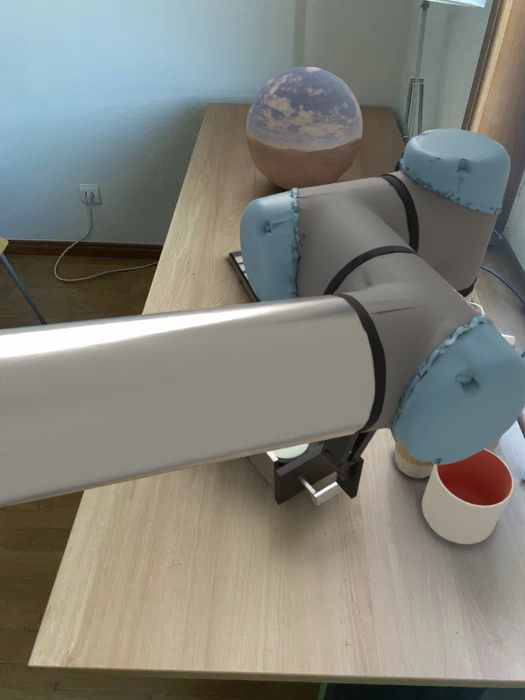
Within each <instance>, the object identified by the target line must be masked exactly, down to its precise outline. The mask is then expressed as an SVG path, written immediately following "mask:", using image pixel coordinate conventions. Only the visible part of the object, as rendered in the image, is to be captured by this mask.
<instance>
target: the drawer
mask: <svg viewBox="0 0 525 700" xmlns="http://www.w3.org/2000/svg"><path fill="white" fill-rule="evenodd" d="M324 443H325V440H322V441H317V442H312V443H309V449H308V452H307V453H306V454H304V455H302V456H301V457H299V458H297V459H295V460H294V461H292V462H290V463H280V462H278V461H279V460H278V458H277V457H276V456H275V455H274V454H273V452H272V451H269V452H265V453H260V454H255V455H250V456H247V458H248V459H249V460H250V461H251V463H252V464H253V465H254V467H256V469H257V470H258V471H259V473H260V474H261V475H262V476H263V478H264V479H265V480H266V481H267V482H268V484H269V485H270V486H271V487H272V489H274V495H273V500H274V501H275V502H276V504H277V505H278V506H280V505H282V504H284V503H286V502H287V501H289V500H290V499H292V498H294V497H295V496H297V495H299V494H300V493H302V492H304V491H305V490H306V491H307V492H308V493H309V495H310V497H311V500H312V502H313V504H314V505H315V506H317V507H318V506H319V505H321V504H323V503H325V502H326V501H328V500H329V499H331V498H333V497H334V496H336V495H338V494H339V493H341V492H342V491H343V489H342V488H341V487H340V486H339V485H338V484H337V483H336V480H334V481H332V482H331V483H329V484H326V485H325V486H324V487H322V488H320V489H319V490H317V491H316V490H315V489H314V487H312V486H313V485H315V484H317V483H319V482H320V481H322V480H324V479H325V478H327V477H329V476H330V475H332V474H334V473H336V472H335V467H334V466H333V465H332V464H331V463H330V462H329V461H328V460H327V458H326V457H325V456H324V455H323V454H322V453H321V450H322V448H323V445H324Z"/></svg>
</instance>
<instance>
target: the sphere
mask: <svg viewBox="0 0 525 700" xmlns="http://www.w3.org/2000/svg"><path fill="white" fill-rule="evenodd" d="M363 123H364V122H363V114H362V111H361V107H360V105H359V103H358V101H357V97H356V96H355V95H354V93H353V92H352V90H351V89H350V87H349V86H348V84H346V82H344V81H343V79H341V78H340V77H338V76H337V75H335V74H334V73H332V72H331V71H328V70H326V69H323V68H320V67H317V66H306V65H304V66H297V67H293V68H289V69H285V70H283V71H282V72H279V73H277V74H276V75H274V76H273V77H271V78H270V79H269V80H268V81H266V82H265V83H264V84H263V85H262V87H261V88H260V89H259V91H258V92H257V94H256V95H255V97H254V98H253V100H252V102H251V104H250V107H249V109H248V111H247V117H246V121H245V133H246V142H247V147H248V152H249V155H250V157H251V159H252V162H253V164H254V165H255V166H256V168H257V169H258V170H259V172H260V173H261V174H262V175H263V176H264V177H265V178H266V179H267V180H268V181H269V182H270V183H272V184H273V185H276V186H278V187H279V188H281V189H284V190H287V191H290V190H291V189H292V188H298V189H301V188H307V187H314V186H320V185H327V184H333V183H336V182H337V181H338V180H340V178H341V177H342V176H343V175H345V173H347V171H348V170H349V169H351V166H352V165H353V163H354V161H355V160H356V158H357V155H358V153H359V150H360V146H361V142H362V136H363V129H364V127H363V126H364V124H363Z"/></svg>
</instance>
